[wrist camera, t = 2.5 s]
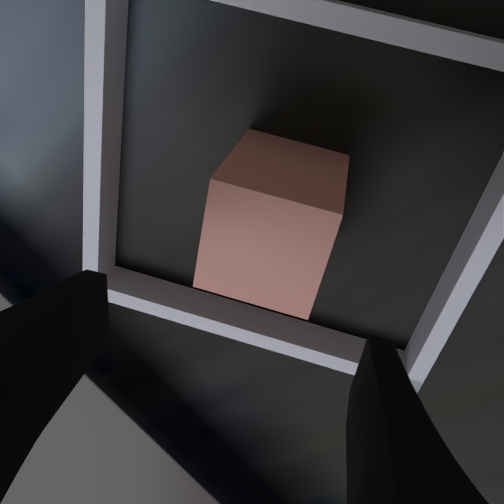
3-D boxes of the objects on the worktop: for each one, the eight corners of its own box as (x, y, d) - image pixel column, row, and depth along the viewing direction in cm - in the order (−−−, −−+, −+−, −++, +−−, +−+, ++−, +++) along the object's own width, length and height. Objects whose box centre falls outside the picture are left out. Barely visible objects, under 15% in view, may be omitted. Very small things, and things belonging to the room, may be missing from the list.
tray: (576, 57, 17) (599, 66, 15) (413, 365, 25) (416, 394, 24) (111, -55, 18) (85, -57, 17) (100, 273, 27) (82, 293, 25)
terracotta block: (349, 154, 21) (343, 215, 16) (321, 242, 23) (307, 320, 18) (248, 128, 21) (210, 178, 16) (231, 217, 23) (192, 286, 18)
